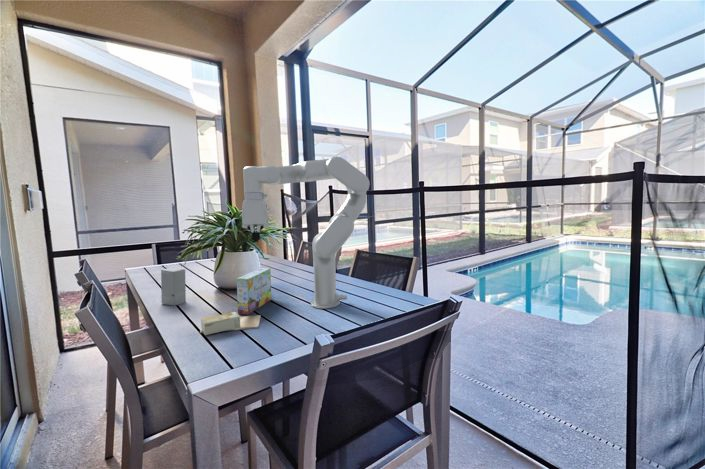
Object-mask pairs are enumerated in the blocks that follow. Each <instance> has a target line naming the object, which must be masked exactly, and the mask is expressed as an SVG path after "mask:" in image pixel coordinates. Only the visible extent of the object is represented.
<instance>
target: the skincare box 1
mask: <svg viewBox="0 0 705 469" xmlns="http://www.w3.org/2000/svg"><path fill="white" fill-rule="evenodd" d="M160 273H161V274H160V275H161V277H160V279H161V282H160V283H161V285H160V286H161V288H160V290H161V304H162V305H166V306H178V305H181V304H185V303H186V302H187V300H186V299H187V298H186V297H187V296H186V294H187V293H186V289H187V288H186V269H184V268H180V267H179V268H178V267H170V268H163V269H160Z"/></svg>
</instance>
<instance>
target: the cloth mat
mask: <svg viewBox="0 0 705 469" xmlns="http://www.w3.org/2000/svg"><path fill="white" fill-rule="evenodd" d="M261 317H262V315H260V314H258V315H246V316H240V327H239V328H235V329H230V330H226V331H227V332H228V331H238V330H249V329H259V328H260V322H261ZM226 331H225V332H226ZM199 333H200V334H204V333H203V331H202V328H200V330H199Z"/></svg>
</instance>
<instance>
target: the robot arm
mask: <svg viewBox="0 0 705 469" xmlns="http://www.w3.org/2000/svg"><path fill="white" fill-rule="evenodd" d="M242 173H243V174H242V176H243V196H244V200H243V201H242V206H241V221H242V222H241V223H242V225H241V228H243V229H248V231H250V232H251V239H252V241H253V243H259V241H260V240H261V231H262V230H264V229H265V228H268V227H270V224H269V216H268V215H269V212H268V205H267V202H266V200H265V198H268V194H267V193H264V184H267V185H272V186H275V185H276V186H278V185H285V184H294V183H310V182H316V181H324V180H326V181H327V180H334V179H335V180H337V181H338V182H340V183H341V184H342V185H343V186H345V188H346V190H347V196H346V198H345V201H344V202H343V204H342V205H341V206H340V207H339V209H338V210H337V211H336V212H335V214H334V215H333V216H332V217H330V219H329V222H328V226H327V227H326V229H325V230H324V231H323V232H319V233H317V234H316V235H315V236H314V237H313V239H312V243H311V244H312V246H311V247H312V248H311V249H312V259H313V260H312V262H313V263H312V264H313V265H312V266H313V267H312V268H313V294H314V298H313V299H312V300H311V302H310V305H311V307H313V308H316V309H322V310H324V309H333V308H337V307H338V306H339V305H341V303H340V302H341V300H344V301H346V300H347V299H348V296H347V294H345V295H344V294H342V293H341V294H338V292H337V286H336V285H337V283H336V281H337V280H336V278H337V277H336V274H337V273H336V255H337V253H338V252H339V250H340V249H341V248H342V246H343V245H344V244H346V242H347V241H348V239H350V237H351V235H352V234H353V232H354V229H355V222H356V220H357V219H358V218H359V216H360V215H361V213H362V212H363V210H364V209H365V206H366V203H367V191H369V188H370V183H371V182H370V179H369V178H368V176H367V175H366V174H364V172H362V171H360V169H358V168H356V167H355V166H354V165H353V164H351V163H350V162H349V161H347V159H344V158H343V157H341V156H336V155H335V156H332V157H330V158H323V159H316V160H305V161H300V162H298V163H296V164H291V165H285V166H275V165H265V166H264V165H263V166H256V165H254V166H251V165H250V166H249V165H247V166H244V168H243V169H242ZM255 226H257V227H256V228H257V229H256V230H255Z"/></svg>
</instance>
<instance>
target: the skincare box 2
mask: <svg viewBox="0 0 705 469" xmlns="http://www.w3.org/2000/svg"><path fill="white" fill-rule="evenodd" d="M240 317H241V315H240V314H238V312H236V311H232V312H226V313H222V314H219V315H218V314H217V315H213V316H209V317H203V318H200V324H201V329H202V331H203V333H202V334H204V335H205V336H209V335H212V334H216V333H220V332H226V330H229V331H231V330H230V329H235V328H239V327H240Z"/></svg>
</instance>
